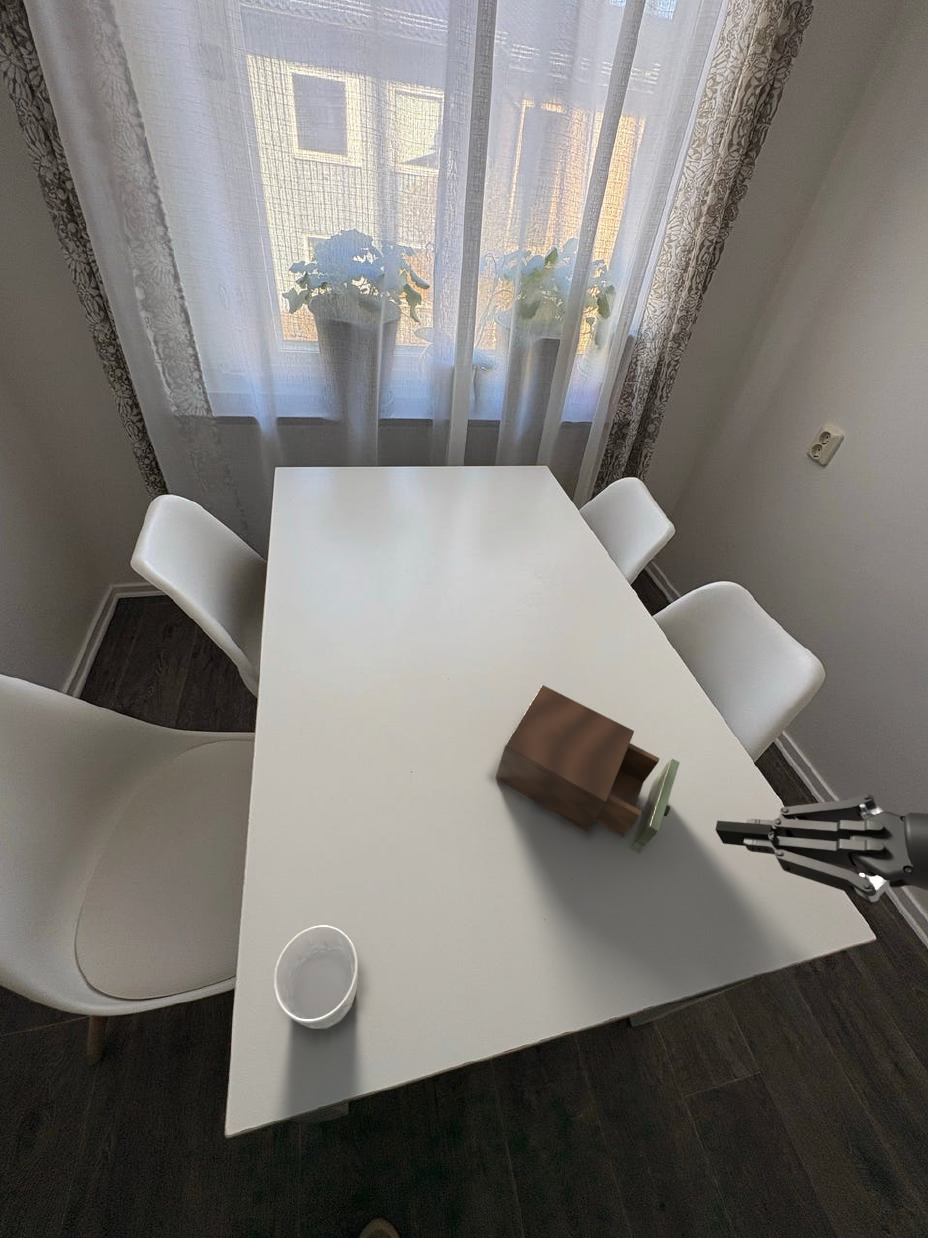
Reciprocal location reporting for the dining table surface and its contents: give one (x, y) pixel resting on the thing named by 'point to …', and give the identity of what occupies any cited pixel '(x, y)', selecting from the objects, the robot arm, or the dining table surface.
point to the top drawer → (626, 792)
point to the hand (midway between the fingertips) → (720, 832)
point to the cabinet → (564, 756)
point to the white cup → (317, 977)
